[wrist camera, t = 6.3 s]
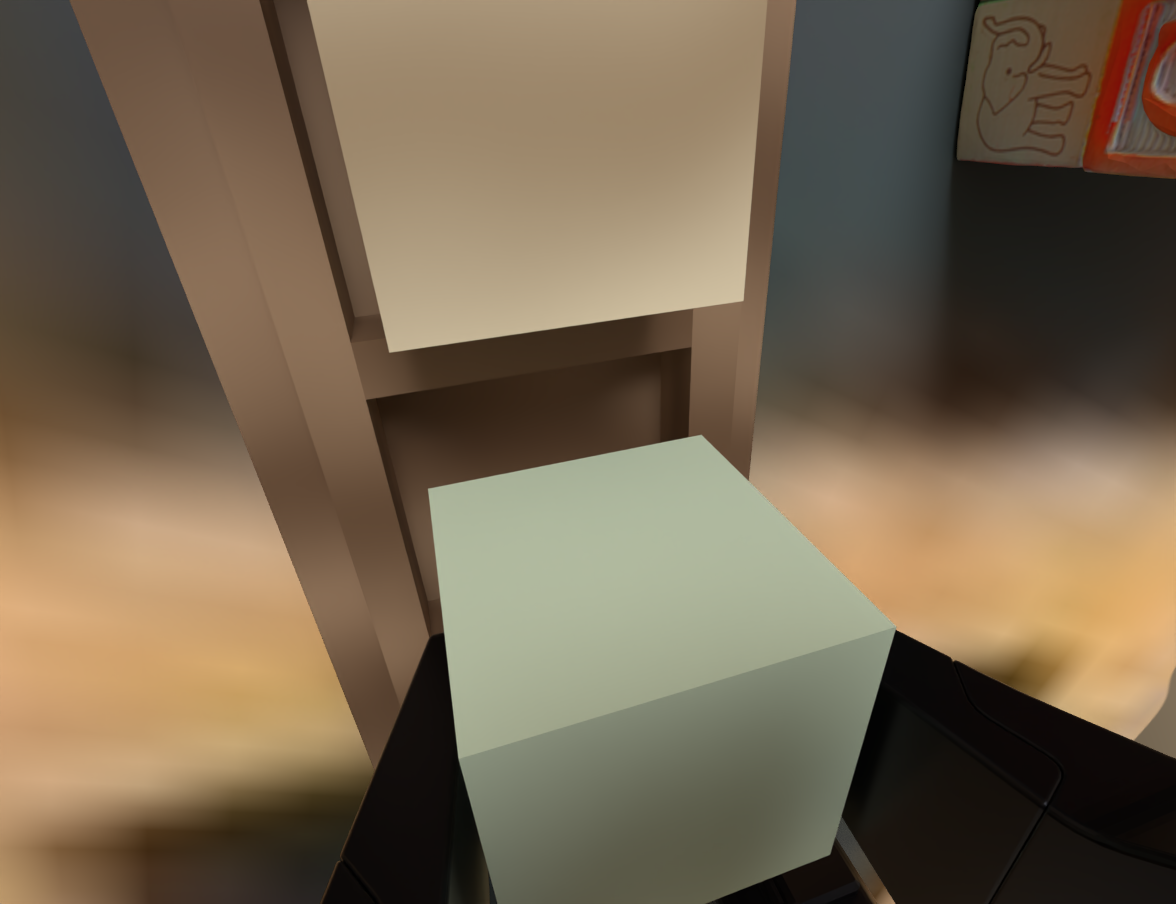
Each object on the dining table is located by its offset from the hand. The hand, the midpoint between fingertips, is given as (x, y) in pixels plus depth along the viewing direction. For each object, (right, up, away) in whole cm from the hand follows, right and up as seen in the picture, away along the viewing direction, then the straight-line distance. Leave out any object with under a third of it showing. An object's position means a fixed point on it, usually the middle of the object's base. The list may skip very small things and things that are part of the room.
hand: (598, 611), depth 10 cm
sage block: (0, +1, +1) cm, 1 cm away
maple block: (-2, +8, 0) cm, 8 cm away
